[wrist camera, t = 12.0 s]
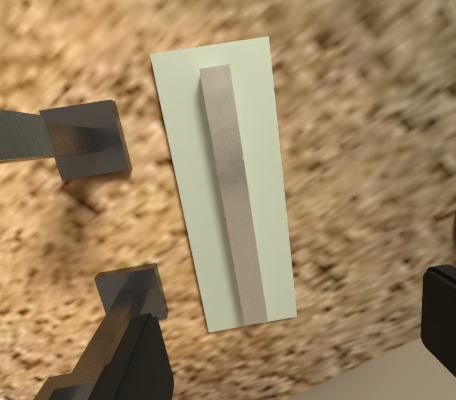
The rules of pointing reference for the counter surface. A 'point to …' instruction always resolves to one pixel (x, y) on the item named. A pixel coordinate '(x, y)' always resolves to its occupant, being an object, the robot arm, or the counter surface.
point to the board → (209, 182)
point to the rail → (234, 189)
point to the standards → (76, 168)
